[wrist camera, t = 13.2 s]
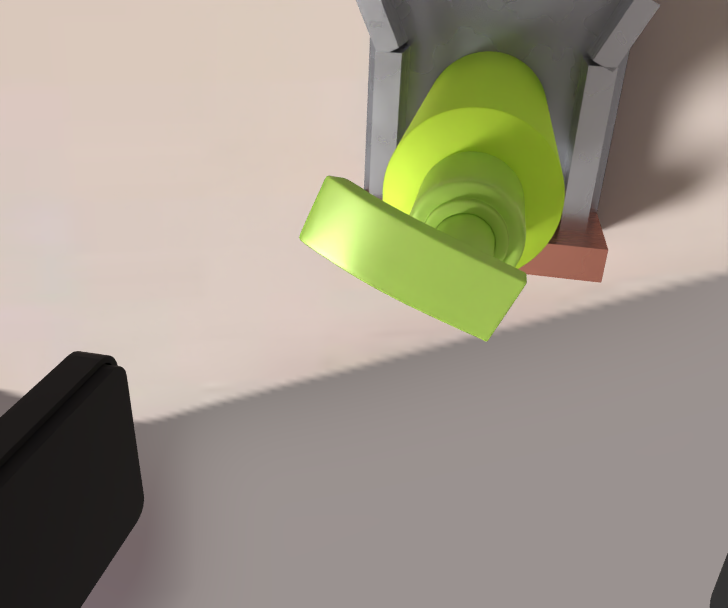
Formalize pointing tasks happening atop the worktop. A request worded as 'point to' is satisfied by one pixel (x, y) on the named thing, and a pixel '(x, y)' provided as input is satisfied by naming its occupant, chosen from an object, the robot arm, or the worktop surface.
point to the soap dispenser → (454, 198)
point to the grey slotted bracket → (550, 64)
